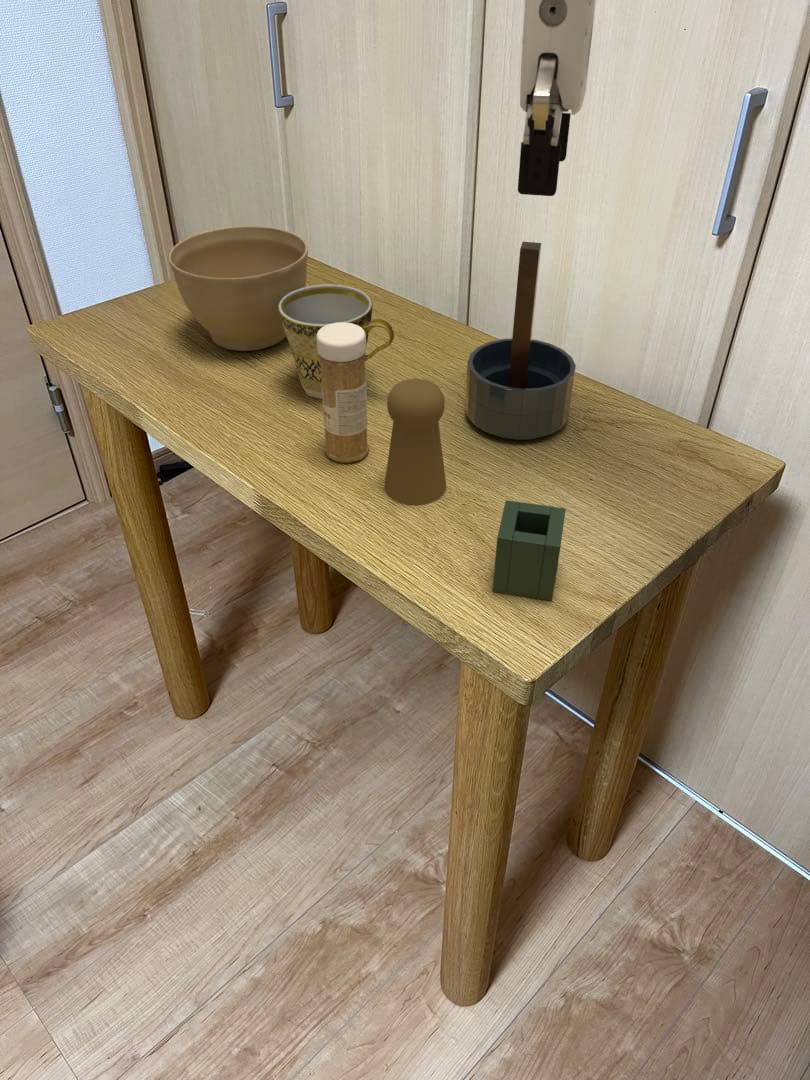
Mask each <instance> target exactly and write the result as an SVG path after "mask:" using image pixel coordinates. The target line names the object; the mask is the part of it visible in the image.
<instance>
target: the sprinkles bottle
mask: <svg viewBox="0 0 810 1080" xmlns="http://www.w3.org/2000/svg"><path fill="white" fill-rule="evenodd" d="M317 351H318V353H319V357H320V364H321V379H322V399H321V401H322V415H323V427H324V435H325V438H324V439H325V445H324V452H325V454H326V456H327V457H328V458H329V459H330V460H332V461H335V462H337V463H342V464H343V463H353V462H358V461H360V460H362V459H364V458H365V457H366V456H367V455H368V453H369V450H370V447H369V444H368V399H367V398H368V397H367V396H368V394H367V378H366V361H365V355H366V353H365V352H367V346H366V335H365V331H364V330H363V329H362V328H361V327H360V326H358V325H355V324H352V323H345V322H340V323H332V324H329V325H326V326H324V327H322V328H321V329H320V330H319V331H318V333H317Z"/></svg>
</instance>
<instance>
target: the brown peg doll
mask: <svg viewBox="0 0 810 1080" xmlns="http://www.w3.org/2000/svg"><path fill="white" fill-rule="evenodd" d="M445 400H446V399H445V394H444V393H443V391H442V389H441V388H440V386H439V385H438V384H436V383H435V382H434V381H431V380H428V379H423V378H408V379H404V380H402V381H399V382H397V383H396V384H394V385H393V386H392V388H391V390H390V391H389V393H388V395H387V402H386V403H387V404H386V406H387V408H386V409H387V412H388V415H389V417H390V419H391V421H393V422H392V429H391V436H390V442H389V443H390V444H389V450H388V457H387V464H386V471H385V478H384V487H383V488H384V491H385V493H386V495H387V496H388V497H390V498H391V499H392V500H394V501H396V502H398V503H400V504H405V505H409V506H410V505H411V506H413V505H414V506H421V505H425V504H426V505H427V504H431V503H433V502H435V501H438V500H439V499H440V498H441V497H442V496H444V494H445V492H446V490H447V482H446V473H445V472H446V471H445V465H444V456H443V447H442V439H441V432H440V424H439V421H440V420H441V419H442V417H443V414H444V412H445V405H446V404H445V403H446V401H445Z"/></svg>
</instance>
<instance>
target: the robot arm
mask: <svg viewBox="0 0 810 1080" xmlns="http://www.w3.org/2000/svg"><path fill="white" fill-rule="evenodd" d="M596 1H597V0H524V10H523V12H524V13H523V24H522V27H523V28H522V40H521V60H520V61H521V62H520V85H519V87H520V88H519V106H520V108H521V109H522V110H523V112H525V113H526V116H525V124H524V129H523V139H522V141H521V142H520V155H519V167H518V180H517V181H518V182H517V192H518V193H519V194H520V195H527V196H541V197H542V196H543V197H553V196H555V195H556V194H557V190H558V179H559V171H560V170H559V169H560V168H559V167H560V162H564V161H565V160H566V158H567V152H568V151H567V150H568V145H569V144H568V142H569V135H570V134H569V133H570V126H571V125H570V123H571V115H572V116H576V115H577V114H578V113H579V112H580V111H581V110H582V107H583V103H584V101H585V97H586V94H587V93H586V92H587V85H588V73H589V64H590V57H591V48H592V37H593V31H594V21H595V10H596ZM570 111H571V112H570Z"/></svg>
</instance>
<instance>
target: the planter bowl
mask: <svg viewBox="0 0 810 1080" xmlns="http://www.w3.org/2000/svg"><path fill="white" fill-rule="evenodd" d="M308 255H309V247H308V244H307V242H306V240H305V239H304V238H303V237H302V236H300V235H299V234H297V233H294V232H292V231H290V230H286V229H283V228H278V227H273V226H262V225H240V226H228V227H222V228H221V227H220V228H215V229H211V230H207V231H203V232H199V233H197V234H196V233H195V234H194V235H191V236H189V237H186V238H184V239H182V240H181V241H180V242H178V243H176V244H175V245H174V246H173V247H172V248H171V249H170V252H169V254H168V261H169V266H170V268H171V270H172V273H173V275H174V279H175V282H176V287H177V289H178V291H179V295H180V297H181V299H182V300H183V302H184V304H185V306H186V307H187V309H188V311H189V312H190V314H191V315H192V316H193V318H194V319H195V320H196V321H197V322H198V324H200V326H202V328H204V329H205V330H206V331H207V332H208V333H209V335H210V339H211V340H212V342H213V343H215V345H217V346H219V347H221V348H223V349H226V350H230V351H237V352H248V351H258V350H263V349H267V348H270V347H273V346H275V345H277V344H279V343H280V342H282V341H283V340H284V339H285V338H287V336H286V334H285V331H284V327H283V324H282V320H281V316H280V312H279V303H280V301H281V300H282V298H283V297H285V296H286V295H287V294H289V293H290V292H292V291H295V290H297V289H300V288H303V287H306V285H307V276H308V275H307V274H308V270H307V269H308V265H307V264H308V263H307V261H308V257H309V256H308Z"/></svg>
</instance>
